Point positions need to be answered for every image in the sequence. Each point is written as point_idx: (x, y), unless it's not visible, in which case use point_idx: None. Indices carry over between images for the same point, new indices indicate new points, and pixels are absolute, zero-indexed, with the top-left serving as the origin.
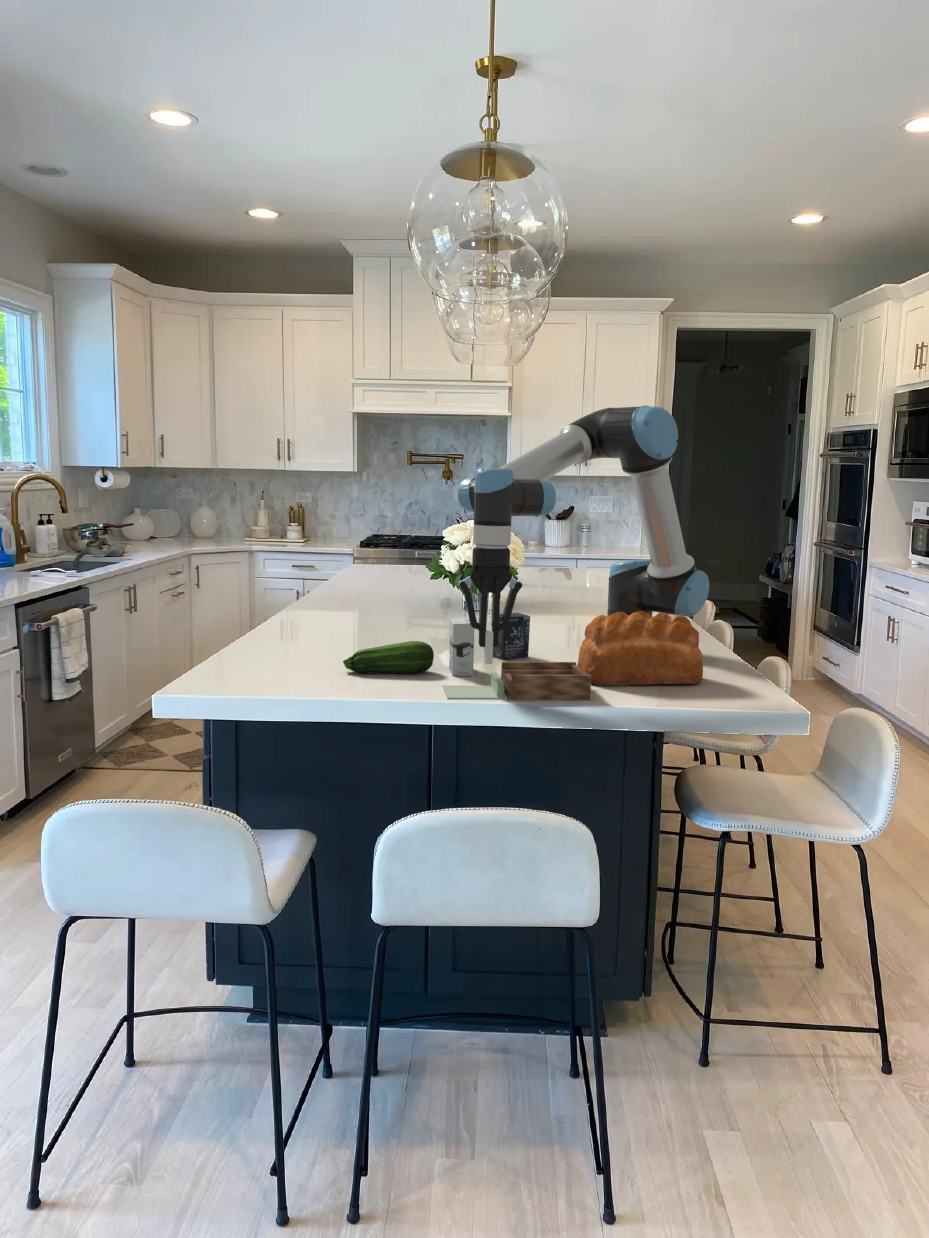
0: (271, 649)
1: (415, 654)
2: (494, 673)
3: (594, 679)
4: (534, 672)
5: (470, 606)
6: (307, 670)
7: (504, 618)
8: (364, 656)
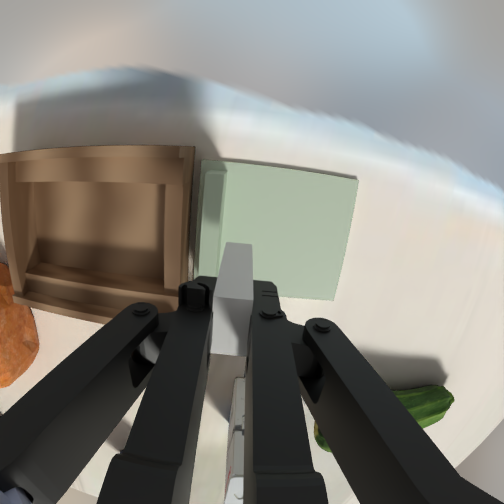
0: None
1: None
2: None
3: (7, 272)
4: (100, 284)
5: (384, 408)
6: (474, 391)
7: (131, 336)
8: (442, 401)
